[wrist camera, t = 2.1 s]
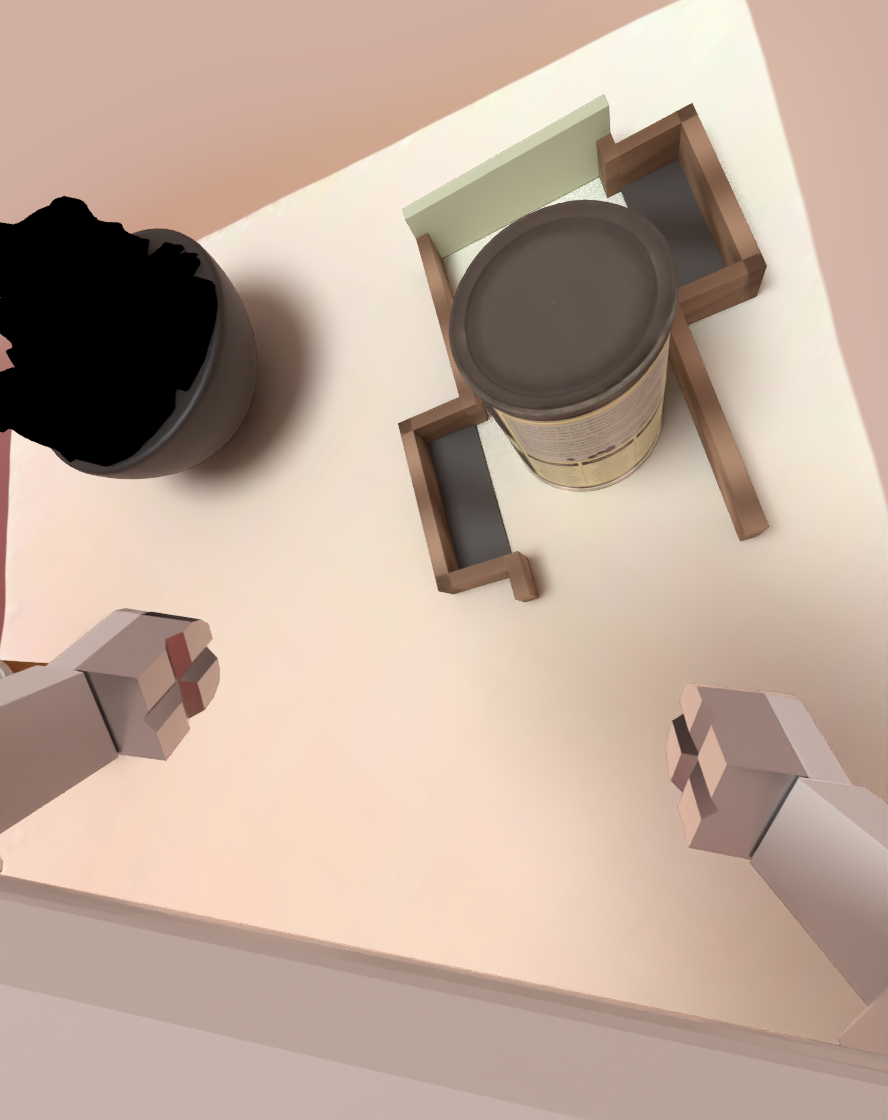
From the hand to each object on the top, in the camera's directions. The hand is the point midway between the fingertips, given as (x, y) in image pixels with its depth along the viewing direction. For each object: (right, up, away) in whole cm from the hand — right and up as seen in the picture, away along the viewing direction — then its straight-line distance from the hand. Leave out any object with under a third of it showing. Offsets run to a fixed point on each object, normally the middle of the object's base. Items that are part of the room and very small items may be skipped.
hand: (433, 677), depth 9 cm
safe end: (+6, +29, +32) cm, 43 cm away
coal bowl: (-21, +17, +40) cm, 49 cm away
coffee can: (+10, +12, +28) cm, 32 cm away
